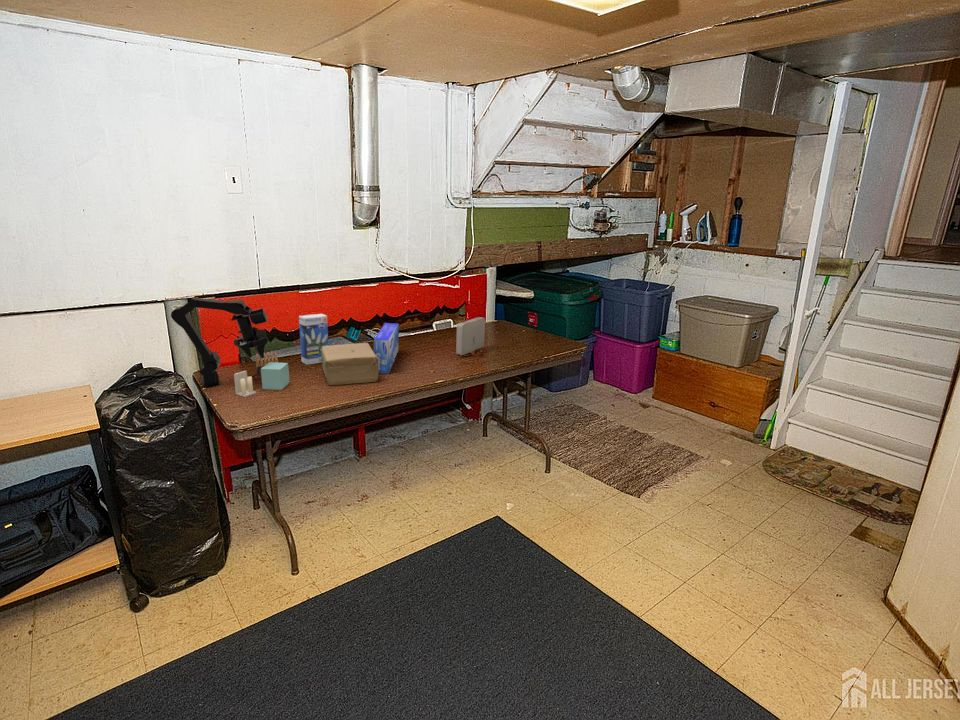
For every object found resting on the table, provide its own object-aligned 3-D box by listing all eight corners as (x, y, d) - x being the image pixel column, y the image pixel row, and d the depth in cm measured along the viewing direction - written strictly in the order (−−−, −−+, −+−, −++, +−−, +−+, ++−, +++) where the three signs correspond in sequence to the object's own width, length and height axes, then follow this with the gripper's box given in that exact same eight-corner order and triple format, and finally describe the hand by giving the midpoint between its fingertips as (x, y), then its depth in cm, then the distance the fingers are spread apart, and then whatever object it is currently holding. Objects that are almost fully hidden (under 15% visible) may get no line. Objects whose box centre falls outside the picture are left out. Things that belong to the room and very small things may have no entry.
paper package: (321, 370, 284) (320, 344, 279) (370, 366, 292) (370, 341, 288) (325, 387, 259) (324, 359, 255) (379, 382, 268) (378, 356, 264)
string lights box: (306, 365, 289) (303, 318, 282) (300, 361, 295) (297, 315, 287) (329, 361, 298) (327, 315, 290) (323, 357, 303) (321, 312, 296)
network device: (464, 359, 311) (465, 325, 305) (452, 356, 315) (452, 323, 309) (487, 349, 332) (488, 318, 326) (475, 347, 336) (476, 315, 330)
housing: (262, 389, 251) (260, 368, 248) (270, 381, 260) (269, 362, 257) (281, 389, 251) (280, 369, 248) (289, 382, 260) (288, 363, 257)
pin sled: (236, 394, 243) (233, 374, 240) (247, 391, 248) (245, 370, 246) (245, 397, 241) (243, 376, 238) (256, 393, 246) (254, 372, 243)
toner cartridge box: (389, 374, 281) (389, 340, 276) (373, 373, 281) (372, 339, 275) (399, 353, 318) (399, 322, 313) (385, 352, 318) (384, 322, 312)
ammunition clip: (278, 372, 276) (276, 350, 273) (279, 373, 275) (277, 351, 271) (256, 375, 271) (254, 352, 267) (257, 376, 269) (255, 353, 266)
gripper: (272, 320, 253) (282, 351, 258) (247, 321, 263) (258, 351, 268) (252, 329, 244) (263, 360, 250) (228, 329, 254) (239, 359, 260)
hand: (256, 357), depth 257 cm, fingers open, 9 cm apart
